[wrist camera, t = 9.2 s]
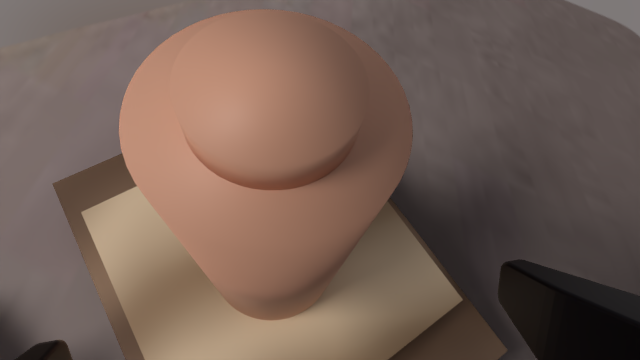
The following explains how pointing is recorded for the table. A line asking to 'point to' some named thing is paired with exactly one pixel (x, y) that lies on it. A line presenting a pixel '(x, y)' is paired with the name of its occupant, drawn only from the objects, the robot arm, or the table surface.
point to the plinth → (254, 334)
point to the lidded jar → (266, 150)
